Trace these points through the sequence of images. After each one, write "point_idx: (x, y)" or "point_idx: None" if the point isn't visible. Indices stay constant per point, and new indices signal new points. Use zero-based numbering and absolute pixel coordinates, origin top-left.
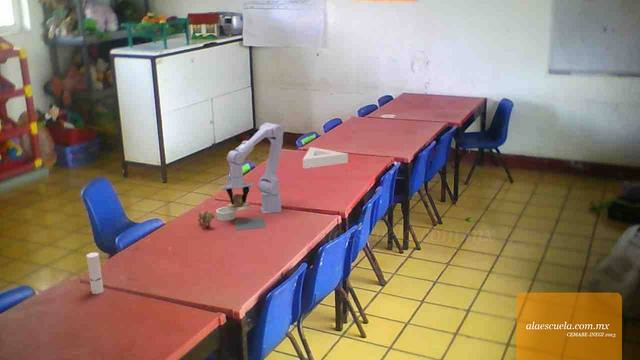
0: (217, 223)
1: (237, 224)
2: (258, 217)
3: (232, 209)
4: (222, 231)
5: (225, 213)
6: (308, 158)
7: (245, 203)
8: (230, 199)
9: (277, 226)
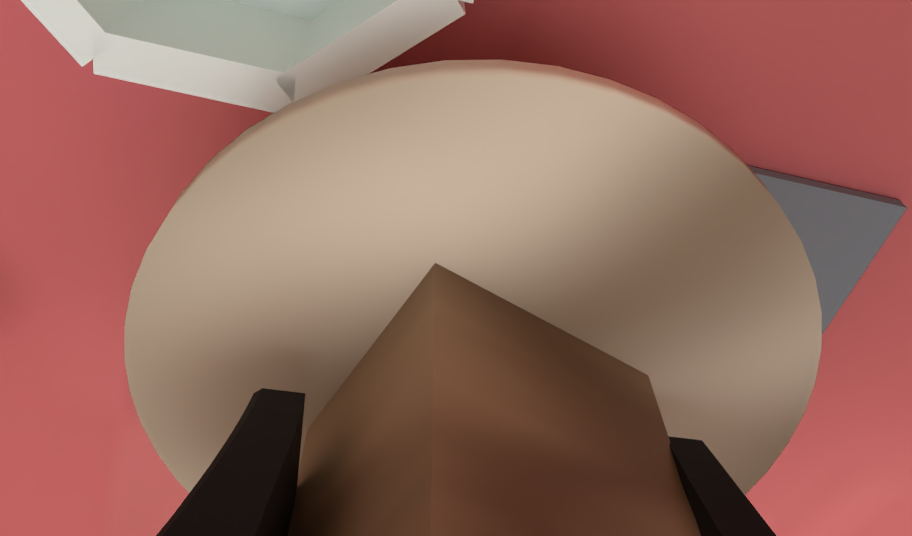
0: (24, 51)
1: None
2: (841, 193)
3: None
4: (98, 397)
5: (162, 86)
6: None
7: (724, 355)
8: (201, 491)
9: (821, 532)
